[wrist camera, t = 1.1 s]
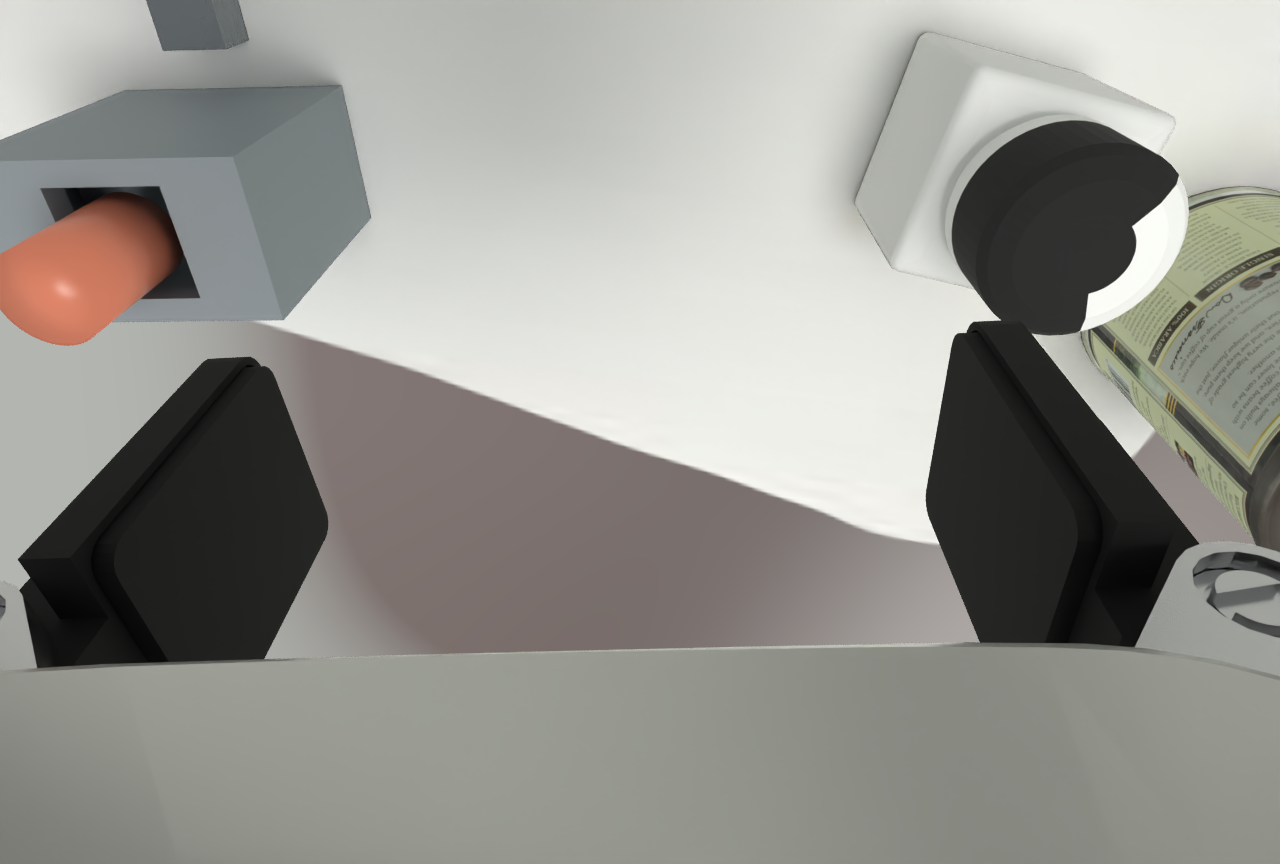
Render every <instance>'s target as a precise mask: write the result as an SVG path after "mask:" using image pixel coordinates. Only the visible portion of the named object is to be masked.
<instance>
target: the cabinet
mask: <svg viewBox="0 0 1280 864" xmlns="http://www.w3.org/2000/svg"><path fill="white" fill-rule="evenodd" d="M111 192H128V193H133V194H137V195H139V196H142V197H144V198H146V199H148V200H150V201H152V202H153V203H155V204H156V205H157V206H159V207H160V208H161V209H162V210H163V211H164V212H166V213H167V214H168V216H169V217H170V218H171V219H172V222H173V225H174V227H175V230H176V233H177V236H178V238H179V241H180V244H181V246H182V249H183V252H184V253H183V258H182V261H181V263H180V265H179V267H178V268H177V269H176V270H175V271H174V272H173V273H172V274H170V275H169V276H168V277H167V278H165V279H164V280H163V281H162V282H160V283H159V284H158V285H157V286H155V287H154V288H153V289H152V290H151V291H149V292H148V293H147V294H146V295H144V296H143V297H142V298H141V299H139V300H138V301H137V302H136V303H134V304H133V305H132V306H131V307H130V308H128V309H127V310H126V311H125V312H123V313H122V314H121V315H120V316H118V317H117V318H116V319H115V320H113V321H112V322H167V321H168V322H169V321H254V320H284V319H285V318H286V317H287V315H288V314H289V313H290V312H291V311H292V310H293V308H294V307H295V306H296V305H297V304H298V303H299V301H300V300H301V299H302V298H303V297H304V296H305V294H306V293H307V292H308V291H309V290H310V289H311V287H312V286H313V285H314V284H315V283H316V282H317V280H318V279H319V278H320V277H321V276H322V275H323V273H324V272H325V271H326V270H327V269H328V267H329V266H330V265H331V264H332V263H333V262H334V260H335V259H336V258H337V257H338V256H339V255H340V253H341V252H342V251H343V250H344V249H345V248H346V246H347V245H348V244H349V243H350V242H351V241H352V239H353V238H354V237H355V236H356V235H357V234H358V232H359V231H360V230H361V229H362V228H363V227H364V225H365V224H366V223H367V222H368V221H369V219H370V218H371V216H370V211H369V207H368V202H367V198H366V193H365V189H364V184H363V180H362V175H361V171H360V166H359V162H358V157H357V153H356V148H355V144H354V139H353V135H352V130H351V126H350V121H349V117H348V112H347V108H346V103H345V99H344V94H343V90H342V86H309V87H263V88H217V89H171V90H125V91H122V92H120V93H117V94H115V95H112V96H110V97H107V98H105V99H102V100H100V101H97V102H95V103H92V104H90V105H87V106H85V107H82V108H80V109H77V110H75V111H72V112H70V113H67V114H65V115H62V116H59V117H57V118H54V119H52V120H49V121H47V122H44V123H42V124H39V125H37V126H34V127H32V128H29V129H27V130H24V131H22V132H19V133H17V134H14V135H12V136H9V137H7V138H4V139H2V140H0V254H1V253H3V252H5V251H6V250H8V249H10V248H12V247H13V246H15V245H17V244H19V243H20V242H22V241H24V240H26V239H27V238H29V237H31V236H33V235H34V234H36V233H38V232H40V231H41V230H43V229H45V228H47V227H48V226H50V225H52V224H54V223H55V222H57V221H59V220H61V219H62V218H64V217H66V216H68V215H69V214H71V213H73V212H75V211H76V210H78V209H80V208H82V207H83V206H85V205H87V204H89V203H91V202H92V201H94V200H96V199H98V198H99V197H101V196H103V195H105V194H107V193H111Z"/></svg>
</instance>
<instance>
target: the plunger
mask: <svg viewBox="0 0 1280 864" xmlns="http://www.w3.org/2000/svg"><path fill="white" fill-rule="evenodd" d="M183 253H184V252H183V249H182V246H181V244H180V241H179V238H178V236H177V233H176V230H175V227H174V225H173V222H172V219H171V218H170V217H169V216H168V214H167V213H166V212H164V211H163V210H162V209H161V208H160V207H159V206H157V205H156V204H155V203H153V202H152V201H150V200H148V199H146V198H144V197H142V196H139V195H137V194H133V193H128V192H111V193H107V194H105V195H103V196H101V197H99V198H98V199H96V200H94V201H92V202H91V203H89V204H87V205H85V206H83V207H82V208H80V209H78V210H76V211H75V212H73V213H71V214H69V215H68V216H66V217H64V218H62V219H61V220H59V221H57V222H55V223H54V224H52V225H50V226H48V227H47V228H45V229H43V230H41V231H40V232H38V233H36V234H34V235H33V236H31V237H29V238H27V239H26V240H24V241H22V242H20V243H19V244H17V245H15V246H13V247H12V248H10V249H8V250H6V251H5V252H3V253H1V254H0V310H1V311H2V312H3V313H4V314H5V316H6V317H7V318H8V319H9V320H10V321H11V322H12V323H14V324H15V325H16V326H17V327H19V328H20V329H21V330H23V331H24V332H26V333H28V334H29V335H31V336H33V337H35V338H38V339H40V340H42V341H45V342H48V343H52V344H57V345H67V346H69V345H78V344H81V343H84V342H86V341H88V340H90V339H91V338H92V337H94V335H96V334H97V333H98V332H100V331H101V330H102V329H103V328H105V327H106V326H107V325H108V324H110V323H111V322H112V321H113V320H115V319H116V318H117V317H118V316H120V315H121V314H122V313H123V312H125V311H126V310H127V309H128V308H130V307H131V306H132V305H133V304H134V303H136V302H137V301H138V300H139V299H141V298H142V297H143V296H144V295H146V294H147V293H148V292H149V291H151V290H152V289H153V288H154V287H155V286H157V285H158V284H159V283H160V282H162V281H163V280H164V279H165V278H167V277H168V276H169V275H170V274H172V273H173V272H174V271H175V270H176V269H177V268H178V267H179V265H180V263H181V261H182V258H183Z"/></svg>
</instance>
